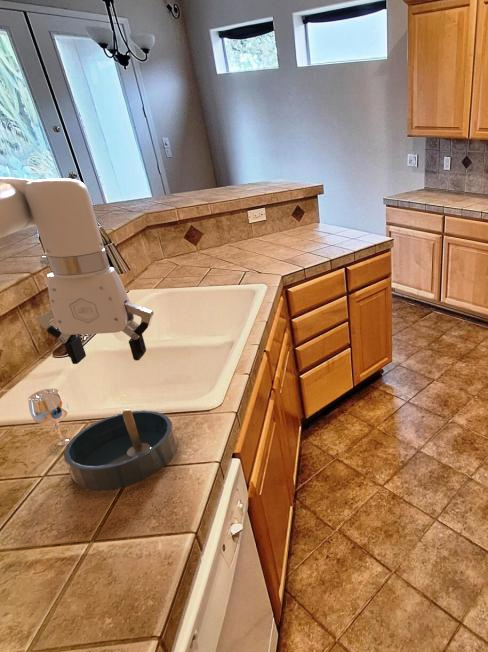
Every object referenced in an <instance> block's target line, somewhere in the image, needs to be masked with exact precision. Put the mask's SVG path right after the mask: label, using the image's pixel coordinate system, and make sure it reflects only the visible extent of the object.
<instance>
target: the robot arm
mask: <svg viewBox="0 0 488 652" xmlns="http://www.w3.org/2000/svg"><path fill="white" fill-rule="evenodd" d="M88 190H89V189H88V188H87V186H86V185H85V184H84V182H82V181H80V180H78V179H74V178H73V179H72V178H45V179H44V178H43V179H36V180H35V179H26V178H25V179H24V178H18V177H17V178H15V177H5V176H3V177H2V176H0V239H2V238H4V237H8V236H9V235H12V234H14V233H17V232H21V231H25V230H27V229H30V228H34V227H36V230H37V233H38V236H39V238H40V241H41V245H42V247H43V250H44V253H45V254H44V255H45V256H44V255H43V256H40V257H39V264H40V265H42V266H48V267H49V270H50V271H51V272H50V273H47V275H46V281H47V282H46V283H47V290H48V292H47V293H48V297H49V303H50V306H51V309H50V310H49V311H47V312H45V313H43V314H41V315H39V316H38V317H37V318H36V321H37V322H38V323H39V324H40V325H41V326H42V327H43V328H44V329H45V330H46V332H47V333H48V334H49V335H51V336H52V337H54V338H56V339H57V340H58V343H60V344H63V345H64V347H65V350H66V353H67V356H68V357H69V359H70V360H71V363H72V365H78V364H79V363H80V362H81V361H82V360H84V359H85V358H86V356H87V353H86V351H85V347H84V345H83V341H82V339H81V337H80V335H98V334H99V335H100V334H115V333H119V332H122V333H124V334H125V335H126V336H128V337H129V338H130V339H128V345H129V348H130V352H131V355H132V359H133V360H134V362H135V361H140V360H141V359H142V358H143V356H144V355H145V353H146V352H147V346H146V343H145V340H144V337H143V336H144V335H143V334H144V333H145V332H146V331H147V329H148V328H149V327H150V326H151V322H152V320H153V317H154V311H153V310H151V309H148V308H146V307H143V306H140V305H139V304H138V305H137V304H135V303H133V302H130V301H131V300H130V298H129V295H128V293H127V291H126V289H125V286H124V284H123V282H122V279H121V278H120V275H119V274H118V272H117V270H116V269H115V267H113V266H111V265H110V263H109V259H108V256H107V252H106V249H105V246H104V242H103V238H102V235H101V231H100V228H99V224H98V220H97V217H96V214H95V211H94V206H93V204H92V199H91V195H90V193H89V191H88ZM134 316H137V317H140V319H141V320H140V323H138V322H136V321H135V317H134Z"/></svg>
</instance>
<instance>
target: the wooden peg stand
mask: <svg viewBox="0 0 488 652" xmlns="http://www.w3.org/2000/svg"><path fill="white" fill-rule="evenodd" d="M131 411H132V410H131V409H129V408H128V409H126V408H125V409H124V410H123V411H122V412H121V413H122V415H123V418H124V421H125V424H126V427H127V431H128V434H129V437H130V440H131V443H132V447H131V448H129V449H128V451H127V456H128V459H132V458H134V457H136V456H138V455H140V454H142V453H144V452H146V451H148V450H149V449H151V448H150V445H149V444H147V443H141V441H140V437H139V434H138V431H137V428H136V424H135V421H134V418H133V415H132V412H131Z"/></svg>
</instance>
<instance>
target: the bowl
mask: <svg viewBox="0 0 488 652" xmlns="http://www.w3.org/2000/svg"><path fill="white" fill-rule="evenodd" d="M131 412H132V415H133V418H134V421H135V424H136V428H137V431H138V434H139V437H140V441H141V443H147V444H149V445H150V448H151V449H149V450H148V451H146V452H144V453H142V454H140V455H138V456H136V457H134V458H132V459H128V456H127V451H128V449H129V448H131V447H132V443H131V440H130V437H129V434H128V431H127V427H126V424H125V421H124V418H123V415H122V412H121V413H118V414H114V415H111V416H108V417H105V418H103V419H100V420H98V421H96V422H94V423H92V424H90V425H88V426H87V427H85V428H83V429H81V430H80V431H79V432H78V433H77V434H76V435H74V436H73V437H72V438H71V440H69V442H68V443H66V446H65V448H64V451H63V459H64V462H65V464H66V466H67V469H68V472H69V474H70V476H71V479H72V481H73V482H74V483H75V484H76V486H78V487H80V488H82V489H84V490H87V491H88V490H89V491H94V492H95V491H98V492H104V491H115V490H117V489H123V488H127V487H129V486H132V485H135V484H137V483H140V482H142V481H144V480H146V479H148V478H150V477H151V476H153V475H155V474H156V473H158V472H159V471H161V470H162V469H163V468H164V467H166V465H168V464H169V462H171V460H172V459H173V457H174V456H175V455H176V452H177V448H178V447H177V446H178V441H177V438H176V437H177V436H176V434H175V429H174V425H173V423H172V421H171V419H170V417H169V416H167V415H166V414H164V413H162V412H159V411H156V410H145V409H144V410H131Z"/></svg>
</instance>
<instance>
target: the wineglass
mask: <svg viewBox="0 0 488 652" xmlns="http://www.w3.org/2000/svg"><path fill="white" fill-rule="evenodd" d="M28 409H29V413H30V416H31V418H32V419H33V421H34V422H35V423H36V424H39V425H42V426H49V425H50V426H51V425H52V427H53V429H54V430H55V432H56V433H57V435H58V437H59V441H58V442H56V445H57V446H64V445H67V444H68V443H69V442H70V440H69V439H68V438H64V437H63V435H62V433H61V426H60V424H59V422H61V421H63V420H64V419H66V417H67V416H68V414H69V405H68V402H67V400H66V398H65V397H64V395H63V394H62V393H61V391H59V389H57V388H45V389H41V390H38V391H35V392H34V393H32V394H31V395H29V396H28Z"/></svg>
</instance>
